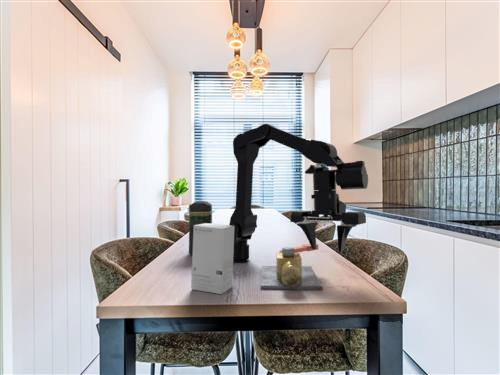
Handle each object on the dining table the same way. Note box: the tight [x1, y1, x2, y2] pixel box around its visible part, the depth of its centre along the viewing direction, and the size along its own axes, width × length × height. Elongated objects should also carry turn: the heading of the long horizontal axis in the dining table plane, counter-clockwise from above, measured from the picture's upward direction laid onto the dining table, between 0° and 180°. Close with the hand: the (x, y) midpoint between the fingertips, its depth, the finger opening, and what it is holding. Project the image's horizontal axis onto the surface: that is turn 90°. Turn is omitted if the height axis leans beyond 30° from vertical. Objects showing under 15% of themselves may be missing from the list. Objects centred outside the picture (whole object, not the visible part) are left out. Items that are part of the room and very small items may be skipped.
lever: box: [281, 243, 319, 256], centre depth 75 cm, size 12×3×2 cm, turn 125°
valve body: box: [260, 249, 323, 291], centre depth 73 cm, size 18×14×6 cm
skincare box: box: [190, 222, 234, 295], centre depth 66 cm, size 8×6×15 cm
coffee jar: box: [188, 200, 213, 256], centre depth 100 cm, size 10×8×19 cm
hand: (327, 250), depth 73 cm, fingers open, 7 cm apart
